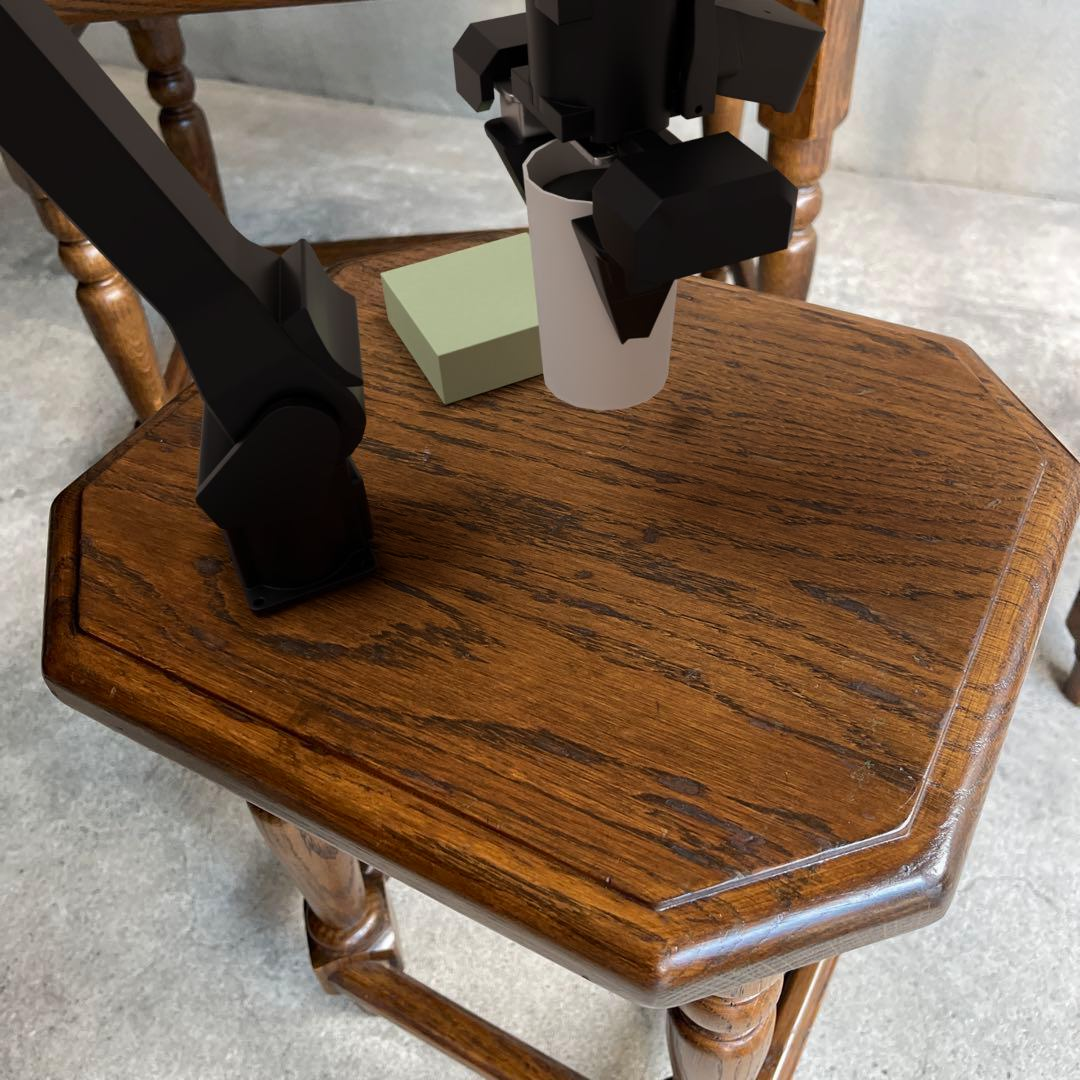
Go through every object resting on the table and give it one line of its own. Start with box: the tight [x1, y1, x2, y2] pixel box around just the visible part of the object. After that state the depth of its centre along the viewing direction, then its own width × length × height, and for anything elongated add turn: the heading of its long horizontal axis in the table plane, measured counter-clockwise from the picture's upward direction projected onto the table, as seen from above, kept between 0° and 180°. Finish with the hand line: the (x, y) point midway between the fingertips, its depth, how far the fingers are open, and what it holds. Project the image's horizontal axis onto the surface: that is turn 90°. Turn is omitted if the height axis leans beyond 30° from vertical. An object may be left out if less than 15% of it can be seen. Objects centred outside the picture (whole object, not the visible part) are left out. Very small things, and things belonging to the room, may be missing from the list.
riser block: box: [380, 232, 544, 405], centre depth 68 cm, size 10×10×4 cm
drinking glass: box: [523, 138, 679, 412], centre depth 47 cm, size 7×7×10 cm
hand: (605, 314), depth 49 cm, fingers closed on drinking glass, 5 cm apart
